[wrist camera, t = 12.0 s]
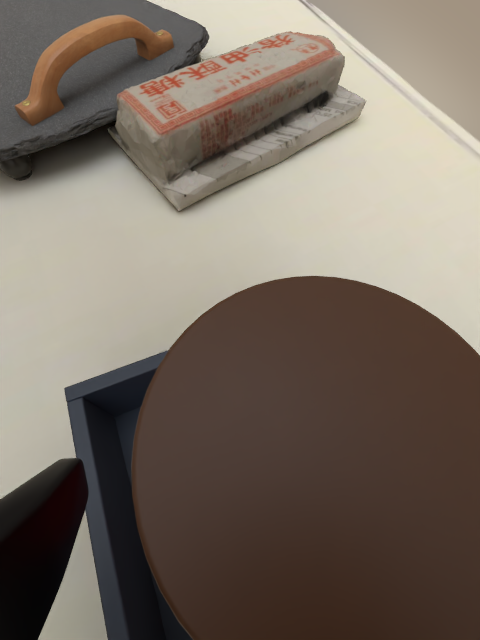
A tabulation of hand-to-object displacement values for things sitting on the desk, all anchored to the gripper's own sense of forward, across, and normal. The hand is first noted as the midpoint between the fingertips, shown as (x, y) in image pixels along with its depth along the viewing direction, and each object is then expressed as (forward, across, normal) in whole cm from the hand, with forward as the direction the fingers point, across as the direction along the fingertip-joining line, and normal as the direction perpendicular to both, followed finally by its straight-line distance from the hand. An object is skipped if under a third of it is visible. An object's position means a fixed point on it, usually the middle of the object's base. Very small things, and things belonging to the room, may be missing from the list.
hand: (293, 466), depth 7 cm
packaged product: (+25, 0, -12) cm, 28 cm away
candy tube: (+6, 0, +6) cm, 9 cm away
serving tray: (+34, +22, -20) cm, 45 cm away
